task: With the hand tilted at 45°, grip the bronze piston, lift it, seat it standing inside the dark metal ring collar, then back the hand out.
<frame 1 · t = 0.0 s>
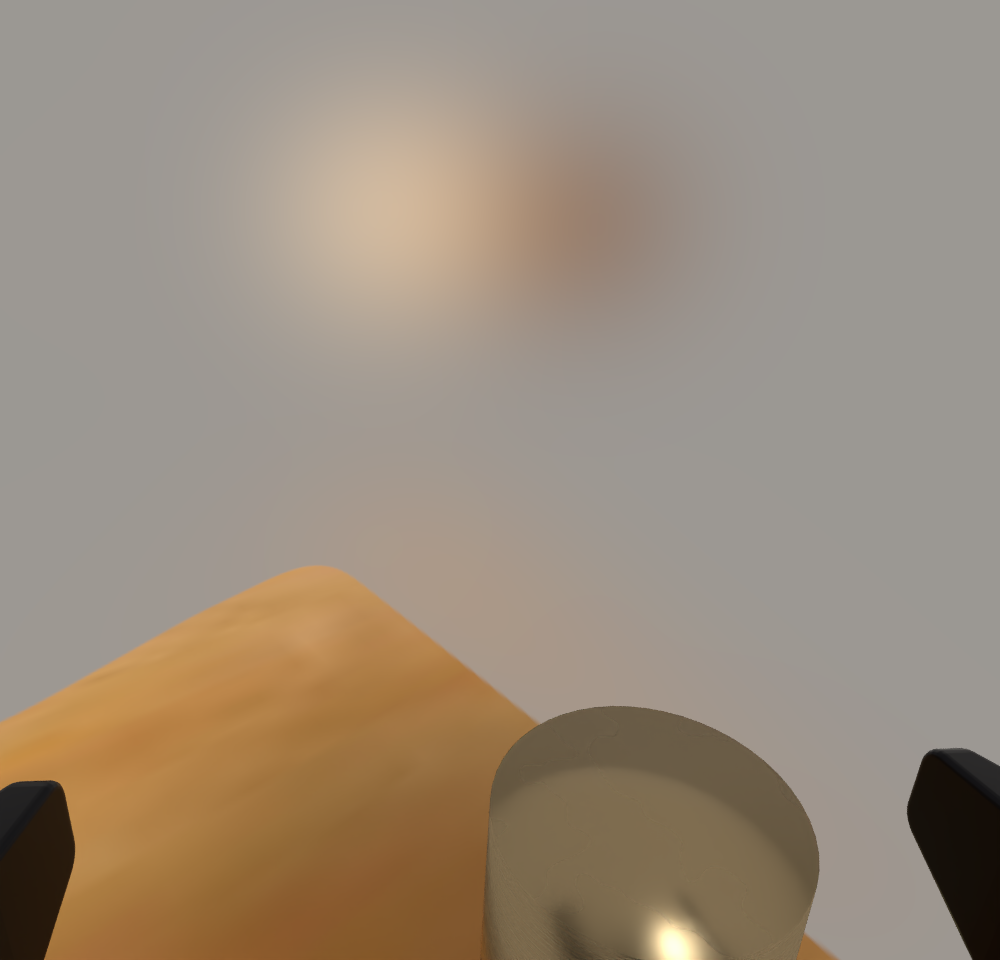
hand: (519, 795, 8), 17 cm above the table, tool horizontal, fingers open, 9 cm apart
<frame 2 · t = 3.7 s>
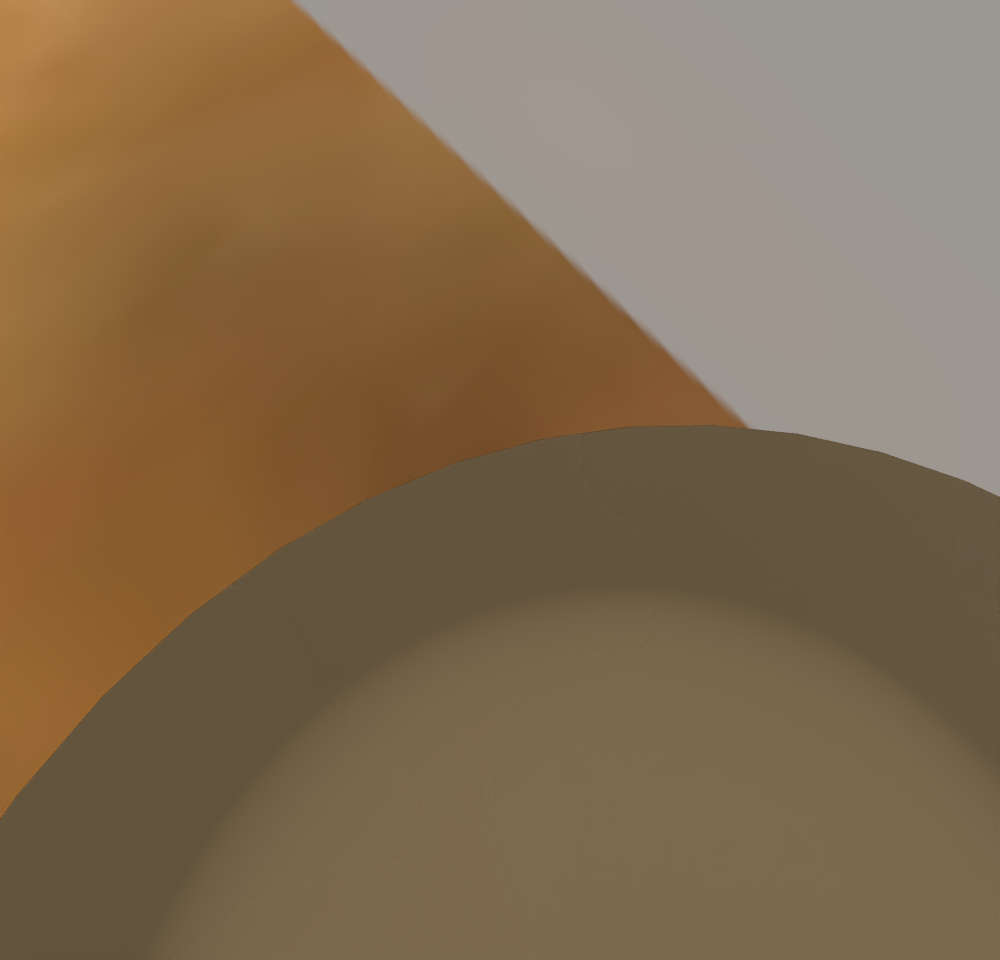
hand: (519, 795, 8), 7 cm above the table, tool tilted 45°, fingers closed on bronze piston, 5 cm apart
bronze piston: (472, 885, 14), on the table, touching gripper
when the fingers open (8 cm above the table, at t = 9.1 s): bronze piston stays where it is, resting on ring collar.
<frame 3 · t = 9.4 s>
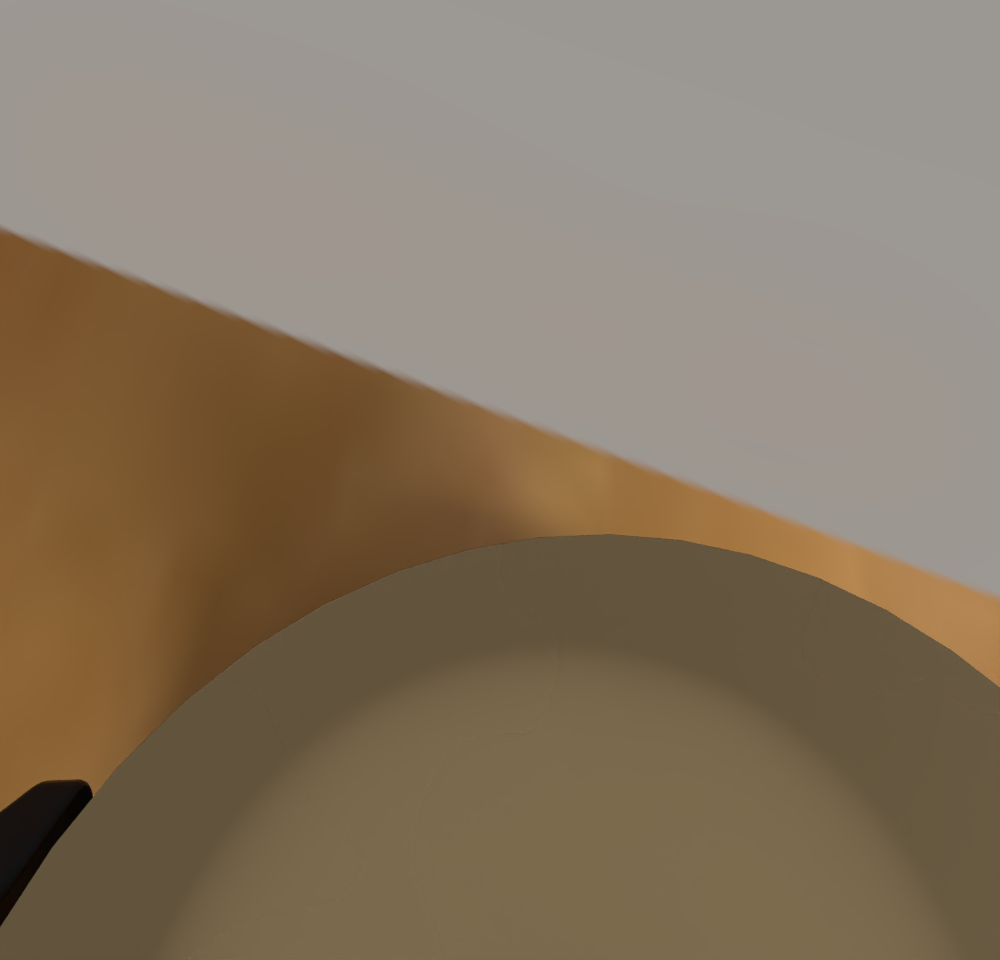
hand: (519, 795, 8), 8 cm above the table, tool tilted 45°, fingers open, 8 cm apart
bronze piston: (467, 886, 14), point 1 cm above the table, touching ring collar
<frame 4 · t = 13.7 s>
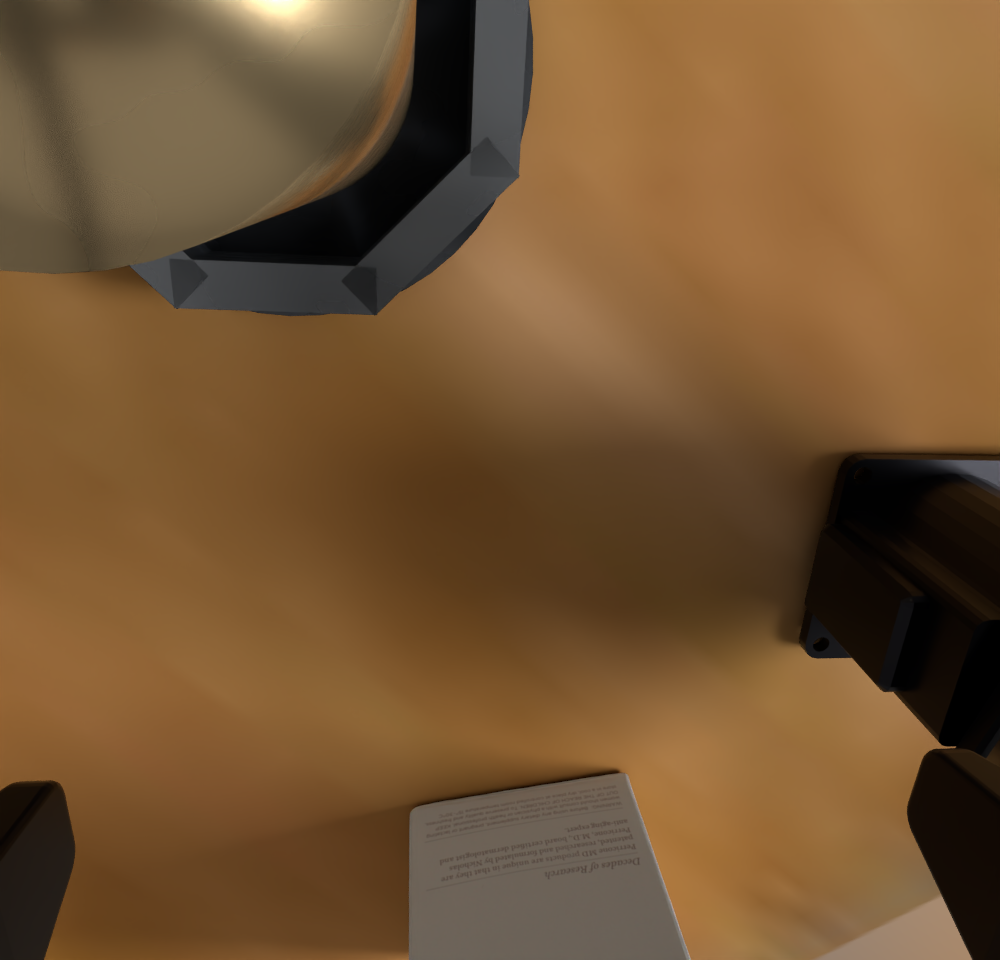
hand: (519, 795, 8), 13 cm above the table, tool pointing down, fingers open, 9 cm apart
supplement box: (527, 860, 27), on the table
bronze piston: (281, 61, 16), point 1 cm above the table, touching ring collar
ring collar: (280, 58, 17), on the table
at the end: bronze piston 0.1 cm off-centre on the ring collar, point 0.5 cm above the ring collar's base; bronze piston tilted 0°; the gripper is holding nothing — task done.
